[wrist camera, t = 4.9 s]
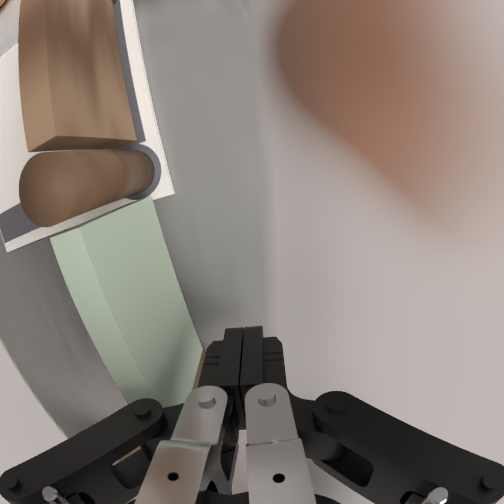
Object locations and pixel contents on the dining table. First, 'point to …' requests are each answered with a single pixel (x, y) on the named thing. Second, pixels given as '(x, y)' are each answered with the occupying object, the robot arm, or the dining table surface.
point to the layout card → (16, 154)
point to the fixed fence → (74, 112)
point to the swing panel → (132, 302)
